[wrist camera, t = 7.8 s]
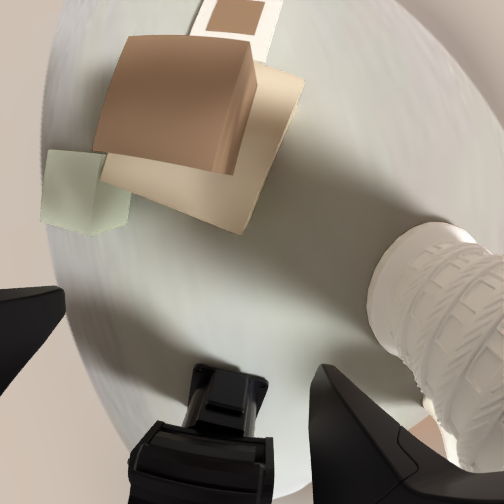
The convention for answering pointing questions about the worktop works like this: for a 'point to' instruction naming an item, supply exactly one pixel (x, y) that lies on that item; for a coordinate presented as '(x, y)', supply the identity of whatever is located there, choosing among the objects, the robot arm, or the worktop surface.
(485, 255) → the decorative container
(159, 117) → the walnut cube
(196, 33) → the card
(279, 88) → the birch plinth
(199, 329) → the worktop surface
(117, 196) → the sage cube
